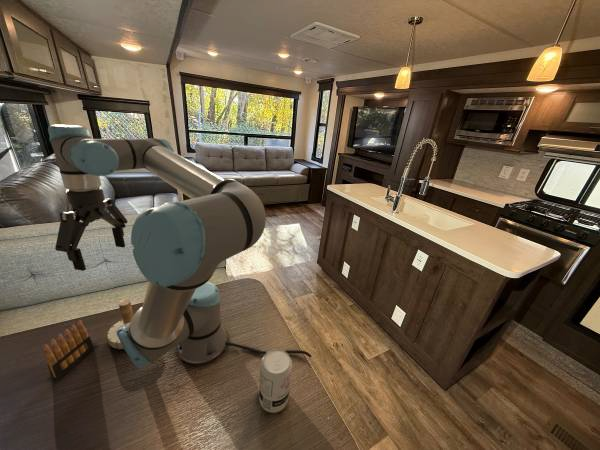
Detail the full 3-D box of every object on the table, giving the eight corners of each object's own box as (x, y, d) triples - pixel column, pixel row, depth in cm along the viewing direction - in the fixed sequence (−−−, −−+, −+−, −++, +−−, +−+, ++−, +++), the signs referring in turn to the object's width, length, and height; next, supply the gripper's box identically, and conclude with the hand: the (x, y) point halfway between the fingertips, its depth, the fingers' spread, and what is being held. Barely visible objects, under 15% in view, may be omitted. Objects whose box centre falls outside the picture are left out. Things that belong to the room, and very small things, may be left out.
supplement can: (261, 382, 72) (263, 345, 66) (289, 385, 72) (293, 348, 66) (256, 412, 65) (257, 374, 59) (287, 415, 65) (291, 377, 59)
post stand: (154, 328, 86) (147, 295, 80) (134, 350, 78) (126, 315, 72) (130, 324, 87) (122, 291, 81) (109, 345, 79) (98, 309, 73)
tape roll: (157, 327, 85) (156, 321, 84) (127, 353, 75) (125, 347, 74) (132, 317, 88) (131, 312, 87) (100, 341, 78) (98, 335, 77)
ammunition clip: (57, 379, 68) (43, 348, 63) (51, 377, 68) (37, 346, 63) (94, 347, 77) (84, 318, 73) (89, 346, 78) (79, 317, 73)
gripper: (110, 176, 77) (123, 237, 85) (15, 199, 54) (45, 279, 62) (133, 179, 76) (143, 240, 85) (45, 203, 53) (72, 283, 62)
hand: (102, 257), depth 73 cm, fingers open, 13 cm apart
